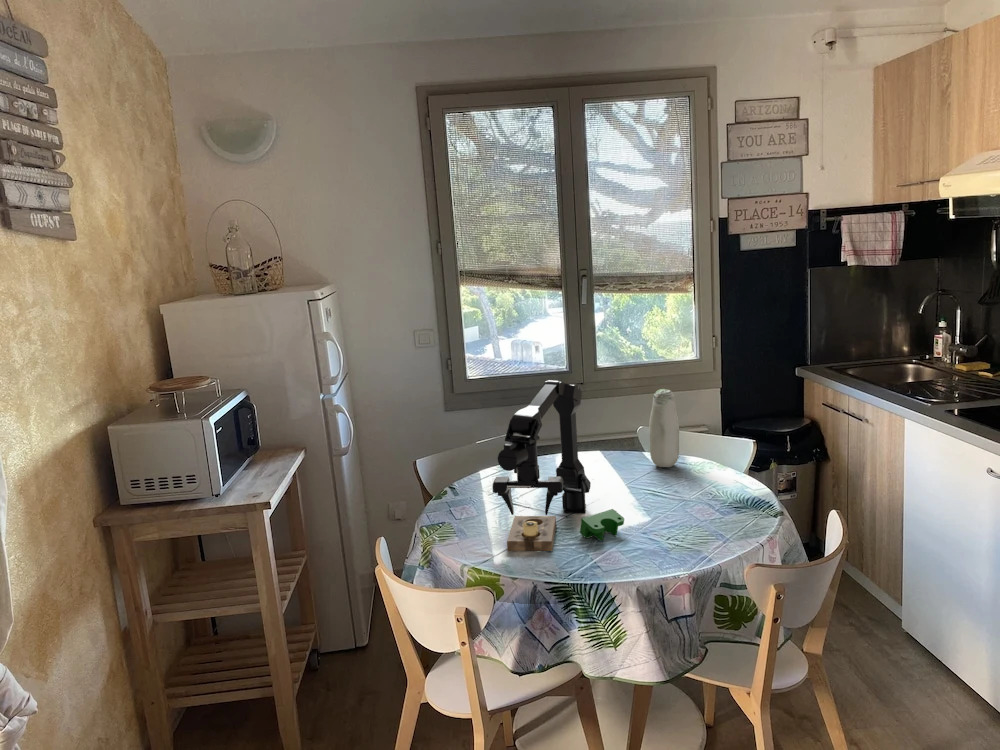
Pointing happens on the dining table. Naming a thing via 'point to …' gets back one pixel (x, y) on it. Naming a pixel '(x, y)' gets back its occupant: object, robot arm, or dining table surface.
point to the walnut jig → (532, 544)
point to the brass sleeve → (530, 529)
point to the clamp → (601, 524)
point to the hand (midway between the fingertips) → (529, 514)
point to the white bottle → (664, 429)
